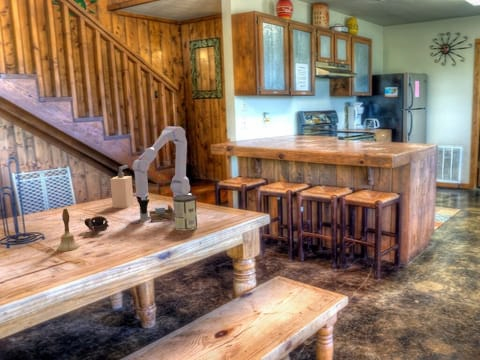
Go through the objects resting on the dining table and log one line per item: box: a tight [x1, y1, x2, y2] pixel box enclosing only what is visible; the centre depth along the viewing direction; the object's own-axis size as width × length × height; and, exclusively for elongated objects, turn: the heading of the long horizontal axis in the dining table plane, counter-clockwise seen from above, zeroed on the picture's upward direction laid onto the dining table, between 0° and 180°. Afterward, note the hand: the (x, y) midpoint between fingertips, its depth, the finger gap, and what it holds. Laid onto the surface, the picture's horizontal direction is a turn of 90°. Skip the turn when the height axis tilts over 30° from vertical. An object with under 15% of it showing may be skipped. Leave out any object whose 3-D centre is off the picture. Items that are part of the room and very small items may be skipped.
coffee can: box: [172, 195, 198, 232], centre depth 198 cm, size 10×10×14 cm
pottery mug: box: [84, 215, 110, 236], centre depth 196 cm, size 12×10×8 cm
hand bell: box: [56, 208, 80, 252], centre depth 174 cm, size 8×8×16 cm
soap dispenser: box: [109, 164, 134, 209], centre depth 246 cm, size 13×9×22 cm
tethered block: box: [139, 205, 166, 222], centre depth 216 cm, size 12×4×6 cm, turn 106°
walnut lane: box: [148, 204, 174, 222], centre depth 217 cm, size 10×9×5 cm
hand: (143, 211), depth 215 cm, fingers open, 7 cm apart
